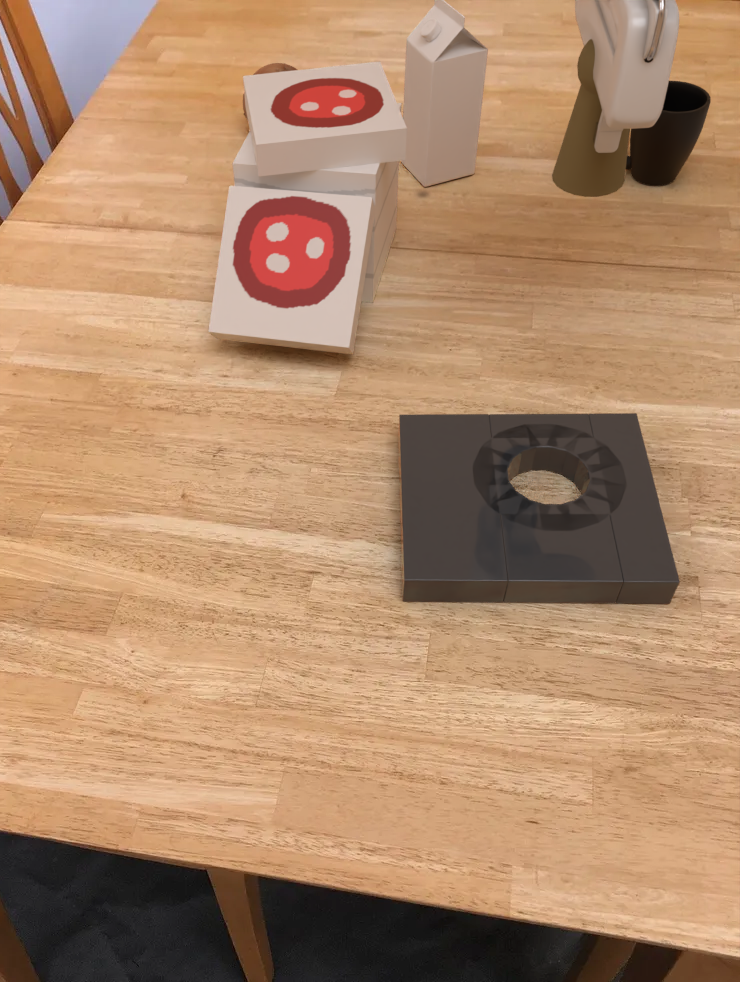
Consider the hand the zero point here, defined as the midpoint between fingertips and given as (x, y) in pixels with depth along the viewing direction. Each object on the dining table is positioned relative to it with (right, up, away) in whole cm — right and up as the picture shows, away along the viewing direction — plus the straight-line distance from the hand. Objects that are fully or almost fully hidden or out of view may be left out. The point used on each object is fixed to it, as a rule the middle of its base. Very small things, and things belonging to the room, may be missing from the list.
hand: (598, 129), depth 76 cm
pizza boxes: (-23, -3, +30) cm, 37 cm away
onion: (-27, +25, +51) cm, 63 cm away
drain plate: (-4, -31, +7) cm, 32 cm away
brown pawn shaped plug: (0, -3, +3) cm, 4 cm away
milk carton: (-6, +17, +44) cm, 47 cm away
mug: (+18, +15, +41) cm, 47 cm away
